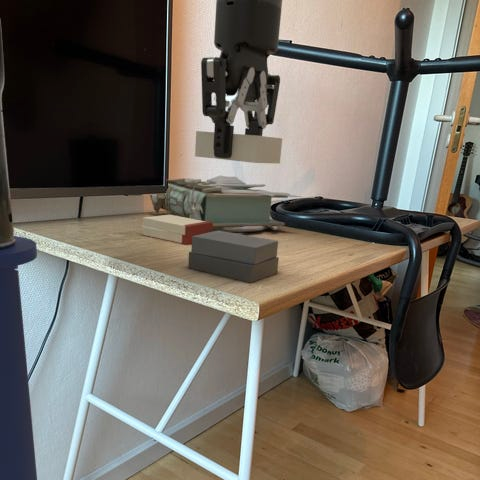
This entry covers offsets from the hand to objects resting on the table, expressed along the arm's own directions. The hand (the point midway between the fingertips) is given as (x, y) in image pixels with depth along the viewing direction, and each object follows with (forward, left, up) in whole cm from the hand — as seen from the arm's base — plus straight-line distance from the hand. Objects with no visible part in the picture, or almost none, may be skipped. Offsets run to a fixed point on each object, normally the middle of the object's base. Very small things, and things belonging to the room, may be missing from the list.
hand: (237, 157), depth 61 cm
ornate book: (+32, +25, -15) cm, 43 cm away
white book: (0, 0, 0) cm, 0 cm away
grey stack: (0, 0, -15) cm, 15 cm away
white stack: (+12, +20, -15) cm, 27 cm away
